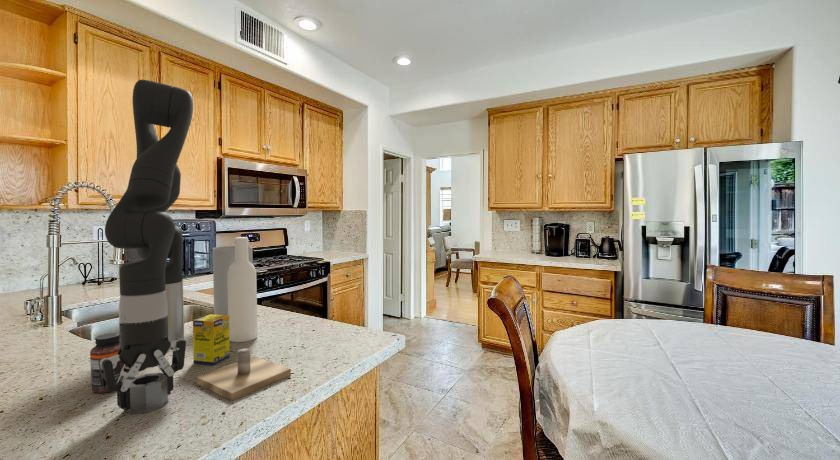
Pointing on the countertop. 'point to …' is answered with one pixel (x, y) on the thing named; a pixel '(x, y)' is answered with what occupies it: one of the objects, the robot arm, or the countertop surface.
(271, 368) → the shaft stand
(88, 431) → the countertop surface
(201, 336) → the supplement box
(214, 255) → the cylinder vase
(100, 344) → the supplement bottle
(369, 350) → the countertop surface
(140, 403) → the ring
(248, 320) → the bottle
